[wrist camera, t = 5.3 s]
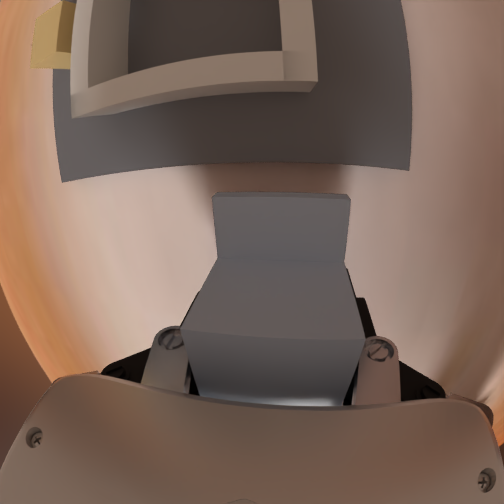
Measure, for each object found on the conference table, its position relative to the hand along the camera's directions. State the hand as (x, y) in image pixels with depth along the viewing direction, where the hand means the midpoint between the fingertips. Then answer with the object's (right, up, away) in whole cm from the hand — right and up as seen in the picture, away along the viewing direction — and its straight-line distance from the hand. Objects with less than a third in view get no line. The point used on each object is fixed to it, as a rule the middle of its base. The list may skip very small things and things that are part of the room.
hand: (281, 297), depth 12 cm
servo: (0, +1, +1) cm, 1 cm away
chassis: (-3, +13, -3) cm, 14 cm away
